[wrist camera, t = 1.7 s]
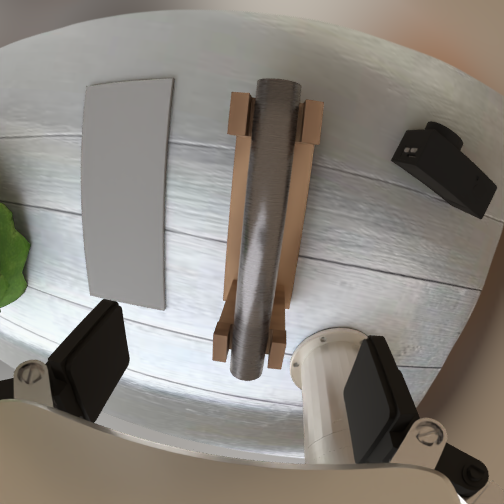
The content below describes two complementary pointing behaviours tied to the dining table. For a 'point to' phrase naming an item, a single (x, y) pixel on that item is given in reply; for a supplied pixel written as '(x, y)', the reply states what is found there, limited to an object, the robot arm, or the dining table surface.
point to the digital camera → (445, 168)
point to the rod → (263, 221)
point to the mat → (125, 189)
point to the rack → (295, 214)
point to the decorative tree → (11, 259)
